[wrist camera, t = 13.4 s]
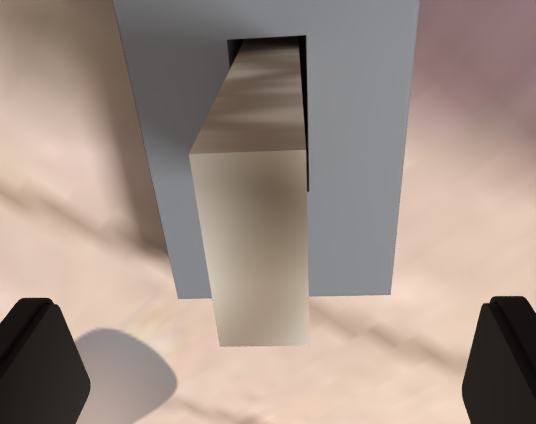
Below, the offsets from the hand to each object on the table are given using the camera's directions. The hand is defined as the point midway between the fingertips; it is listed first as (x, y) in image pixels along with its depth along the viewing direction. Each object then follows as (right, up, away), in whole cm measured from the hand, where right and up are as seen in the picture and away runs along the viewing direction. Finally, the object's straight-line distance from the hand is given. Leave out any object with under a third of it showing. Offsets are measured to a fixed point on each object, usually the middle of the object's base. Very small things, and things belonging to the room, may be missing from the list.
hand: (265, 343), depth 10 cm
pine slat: (0, +10, +17) cm, 19 cm away
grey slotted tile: (0, +10, +17) cm, 19 cm away
